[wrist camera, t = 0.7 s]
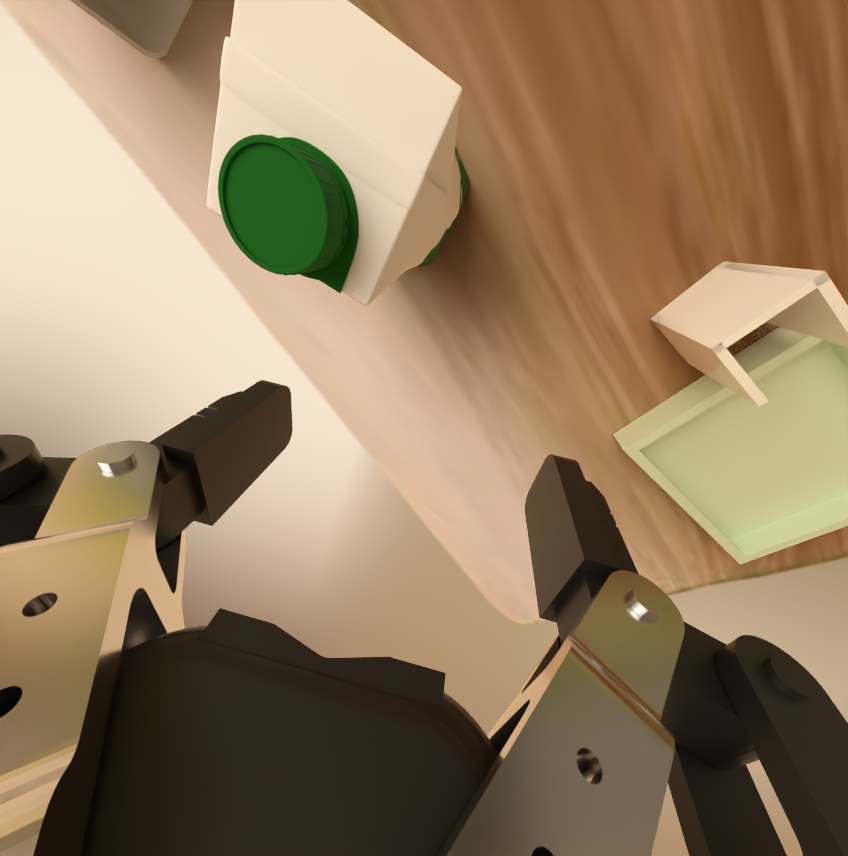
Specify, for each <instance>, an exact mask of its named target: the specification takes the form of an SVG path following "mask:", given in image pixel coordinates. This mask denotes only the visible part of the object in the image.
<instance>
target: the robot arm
mask: <svg viewBox="0 0 848 856" xmlns="http://www.w3.org/2000/svg"><path fill="white" fill-rule="evenodd" d="M291 435H292V411H291V392H290V389H289V388H288V387H287V386H284V385H280V384H276V383H272V382H268V381H264V380H261V381H259V382H257V383H256V384H254V385H253V386H251V387H249V388H248V389H246V390H245V391H243V392H237V393H234V394H231V395H228V396H225V397H222V398H220V399H219V400H217V401H216V402H214V403H212V404H211V405H209V406H208V408H204V409H203V410H201V411H199V412H198V413H197V414H196V416H194V415H193V416H191V417H190V418H188V419H187V420H185V421H183V422H182V423H180V424H178V425H177V426H175V427H173V428H172V429H170V430H169V431H167V432H165V433H164V434H162V435H161V436H159V437H157V438H156V439H154V440H153V441H151V442H149V443H148V442H143V441H121V442H115V443H110V444H106V445H103V446H100V447H97V448H94V449H92V450H90V451H88V452H86V453H84V454H83V455H81V456H80V457H78V458H50V457H42V456H41V454H40V453H39V451H38V449H37V448H36V446H35V444H34V443H33V441H32V440H31V439H29V438H27V437H23V436H19V435H0V856H651V853H652V848H653V844H654V840H655V835H656V831H657V826H658V822H659V818H660V813H661V809H662V805H663V801H664V796H665V792H666V787H667V783H668V784H669V788H670V791H671V794H672V798H673V801H674V805H675V808H676V811H677V815H678V818H679V822H680V825H681V829H682V832H683V836H684V839H685V842H686V846H687V849H688V852H689V856H787V855H786V853H785V851H784V849H783V846H782V844H781V842H780V840H779V837H778V835H777V833H776V831H775V829H774V826H773V824H772V822H771V820H770V818H769V815H768V813H767V811H766V809H765V806H764V804H763V802H762V800H761V797H760V795H759V793H758V791H757V789H756V786H755V784H754V782H753V780H752V777H751V775H750V773H749V771H748V768H747V766H746V764H749V763H751V762H754V761H757V760H760V762H761V764H762V766H763V768H764V770H765V772H766V774H767V776H768V778H769V780H770V782H771V784H772V787H773V788H774V791H775V793H776V795H777V797H778V799H779V801H780V803H781V805H782V807H783V809H784V812H785V814H786V816H787V818H788V820H789V822H790V824H791V826H792V828H793V830H794V832H795V835H796V837H797V839H798V841H799V844H800V847H801V849H802V853H803V856H848V723H847V722H846V720H845V719H844V717H843V716H842V715H841V713H840V712H839V710H838V709H837V707H836V706H835V704H834V703H833V702H832V700H831V699H830V697H829V696H828V694H827V693H826V692H825V690H824V689H823V688H822V686H821V685H820V684H819V683H818V682H817V681H816V679H815V678H814V677H813V676H812V675H811V674H810V673H809V672H808V671H807V670H806V669H805V668H804V667H803V666H802V665H800V664H799V663H798V662H797V661H796V660H795V659H793V658H792V657H791V656H790V655H788V654H787V653H785V652H784V651H783V650H781V649H780V648H778V647H776V646H775V645H773V644H772V643H770V642H768V641H766V640H763V639H761V638H758V637H755V636H751V635H743V636H740V637H738V638H737V639H735V640H734V641H732V642H731V643H729V644H728V645H726V644H724V643H722V642H720V641H718V640H717V639H715V638H713V637H711V636H709V635H707V634H705V633H704V632H702V631H700V630H698V629H696V628H695V627H692V626H691V625H689V624H687V623H685V622H684V621H683V619H682V616H681V614H680V612H679V610H678V609H677V607H676V605H675V604H674V603H673V602H672V600H671V599H670V598H669V597H668V596H667V595H666V593H664V592H663V591H662V590H661V589H660V588H659V587H658V586H656V585H655V584H654V583H653V582H651V581H650V580H648V579H646V578H645V577H643V576H641V575H639V574H638V572H637V570H636V567H635V565H634V563H633V561H632V558H631V556H630V554H629V552H628V549H627V547H626V545H625V543H624V540H623V538H622V536H621V534H620V531H619V529H618V527H616V522H615V520H614V518H613V516H612V514H610V512H611V511H610V509H609V507H608V504H607V502H606V500H605V498H604V496H603V495H602V494H601V493H600V492H599V490H598V489H597V488H596V487H595V486H594V485H593V484H592V482H589V481H585V478H584V476H583V473H582V471H581V468H580V466H579V463H578V462H577V461H575V460H571V459H567V458H563V457H559V456H555V455H548V456H547V458H546V459H545V461H544V463H543V465H542V467H541V469H540V471H539V472H538V474H537V476H536V478H535V480H534V482H533V484H532V486H531V488H530V490H529V492H528V495H527V498H526V504H525V514H526V522H527V529H528V536H529V544H530V551H531V558H532V565H533V573H534V580H535V587H536V595H537V602H538V609H539V616H540V618H543V619H546V620H550V621H553V622H557V626H558V631H559V634H558V635H557V637H556V638H555V639H554V640H553V641H552V643H551V644H550V646H549V647H548V649H547V650H546V652H545V654H544V655H543V656H542V658H541V660H540V661H539V662H538V664H537V666H536V667H535V669H534V670H533V672H532V673H531V675H530V676H529V678H528V679H527V681H526V682H525V684H524V685H523V687H522V688H521V690H520V691H519V693H518V694H517V696H516V697H515V699H514V700H513V701H512V703H511V704H510V705H509V707H508V708H507V709H506V711H505V712H504V713H503V714H502V716H501V717H500V718H499V720H498V721H497V723H496V724H495V725H494V727H493V728H492V730H491V731H490V732H489V734H488V735H487V736H486V734H485V733H484V731H483V730H482V728H481V727H480V726H479V724H478V723H477V722H476V721H475V720H474V719H473V717H472V716H471V715H470V714H469V713H468V712H467V711H466V710H465V709H464V708H463V707H462V706H461V705H460V704H458V703H457V702H456V701H455V700H454V699H453V698H452V697H450V696H449V695H447V694H445V693H444V683H445V673H443V672H440V671H436V670H432V669H429V668H426V667H422V666H419V665H415V664H412V663H408V662H405V661H401V660H398V659H394V658H391V657H362V658H325V657H322V656H320V655H318V654H317V653H316V652H314V651H313V650H311V649H310V648H308V647H307V646H305V645H304V644H302V643H301V642H300V641H298V640H297V639H295V638H294V637H292V636H291V635H289V634H288V633H286V632H285V631H284V630H282V629H281V628H279V627H277V626H276V625H274V624H272V623H269V622H265V621H262V620H258V619H255V618H251V617H248V616H244V615H241V614H237V613H234V612H230V611H227V610H224V609H219V610H218V612H217V613H216V615H215V616H214V618H213V619H212V620H211V622H210V623H209V624H208V626H199V627H192V628H186V629H185V627H184V619H183V613H182V590H183V578H184V566H185V553H186V539H187V535H186V531H185V528H186V527H187V526H188V525H189V524H190V523H191V522H193V521H197V522H201V523H204V524H208V525H211V526H212V525H213V524H214V523H215V522H216V521H217V520H218V519H219V518H220V517H221V516H222V515H223V514H224V513H225V512H226V511H227V510H228V508H229V507H230V506H231V505H232V504H233V503H234V502H235V501H236V500H237V499H238V498H239V497H240V496H241V495H242V494H243V493H244V491H245V490H246V489H247V488H248V487H249V486H250V485H251V484H252V483H253V482H254V481H255V480H256V479H257V478H258V477H259V476H260V474H261V473H262V472H263V471H264V470H265V469H266V468H267V467H268V466H269V465H270V464H271V463H272V462H273V461H274V460H275V458H276V457H277V456H278V455H279V454H280V453H281V452H282V451H283V450H284V449H285V448H286V446H287V445H288V443H289V441H290V438H291Z"/></svg>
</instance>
